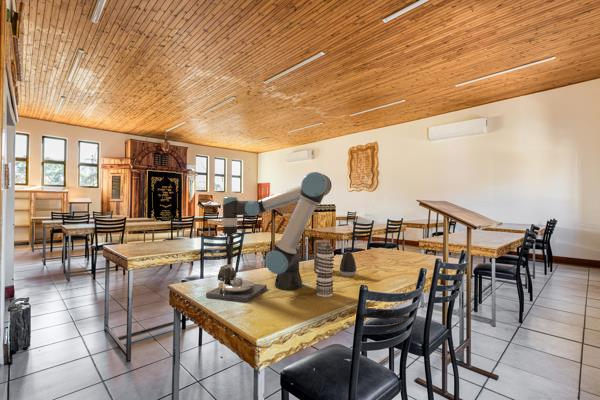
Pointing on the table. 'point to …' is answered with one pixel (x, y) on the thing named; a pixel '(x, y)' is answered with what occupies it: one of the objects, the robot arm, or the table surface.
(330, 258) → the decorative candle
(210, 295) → the clock base
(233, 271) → the fossil
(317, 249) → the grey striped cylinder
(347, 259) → the dark grey tapered dome
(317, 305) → the table surface
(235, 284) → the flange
